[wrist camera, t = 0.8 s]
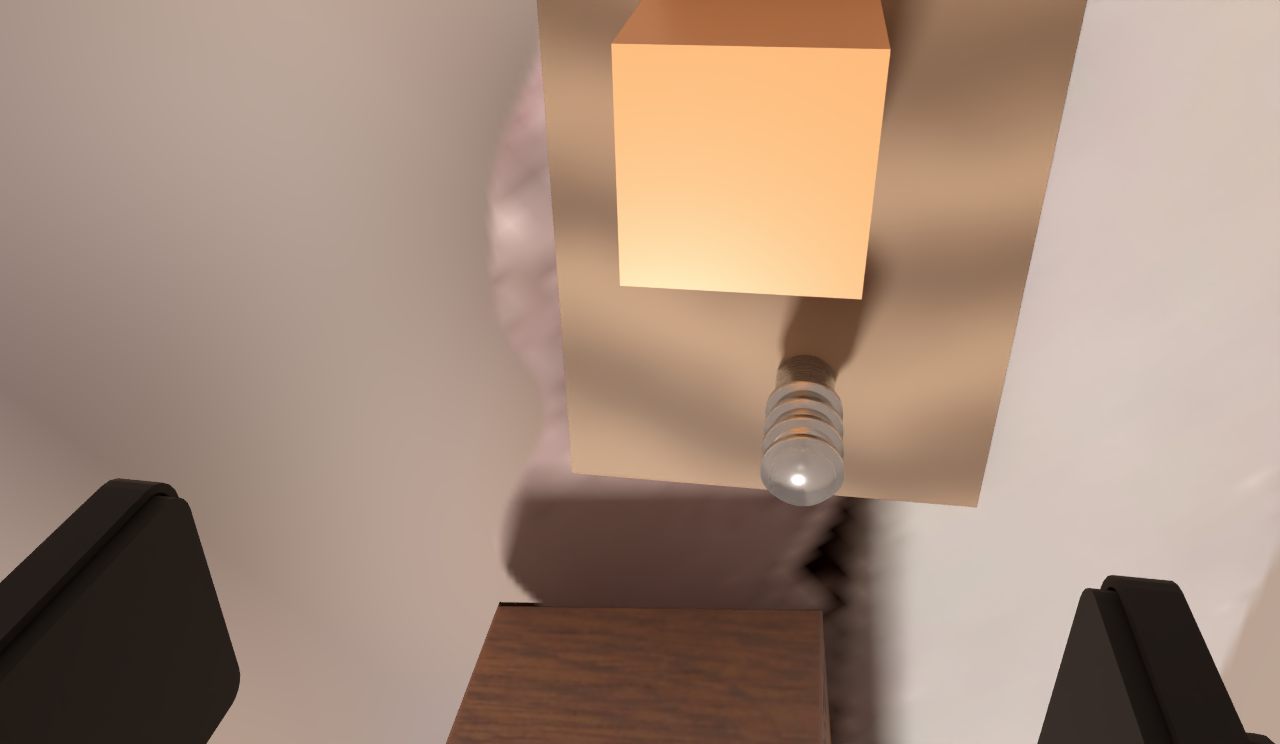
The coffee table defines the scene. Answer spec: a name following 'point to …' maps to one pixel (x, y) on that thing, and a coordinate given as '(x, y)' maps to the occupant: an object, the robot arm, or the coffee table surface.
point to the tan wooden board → (820, 326)
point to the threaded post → (803, 434)
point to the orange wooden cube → (748, 144)
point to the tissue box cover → (647, 677)
